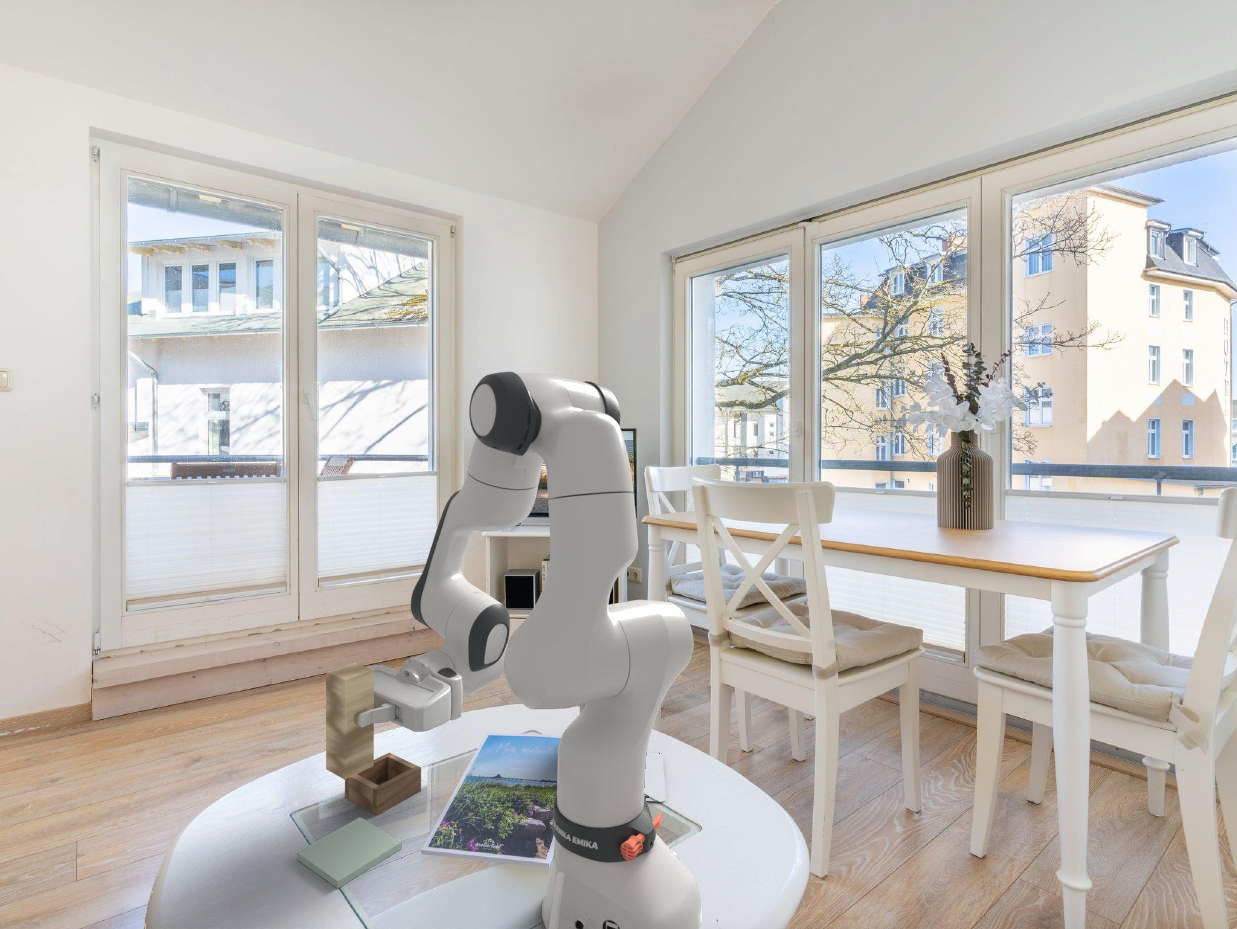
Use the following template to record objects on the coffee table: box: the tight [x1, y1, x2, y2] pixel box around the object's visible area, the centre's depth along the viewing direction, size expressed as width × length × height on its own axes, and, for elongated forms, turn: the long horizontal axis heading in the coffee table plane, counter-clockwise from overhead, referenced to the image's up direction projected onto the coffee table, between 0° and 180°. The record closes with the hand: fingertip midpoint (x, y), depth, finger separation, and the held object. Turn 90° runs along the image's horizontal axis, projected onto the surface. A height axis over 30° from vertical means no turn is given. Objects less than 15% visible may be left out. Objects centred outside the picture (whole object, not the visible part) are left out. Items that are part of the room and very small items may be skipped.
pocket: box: [344, 752, 422, 816], centre depth 106 cm, size 8×8×4 cm
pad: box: [296, 816, 403, 889], centre depth 91 cm, size 10×10×1 cm
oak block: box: [325, 662, 375, 781], centre depth 90 cm, size 4×4×14 cm
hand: (344, 714), depth 89 cm, fingers closed on oak block, 4 cm apart
